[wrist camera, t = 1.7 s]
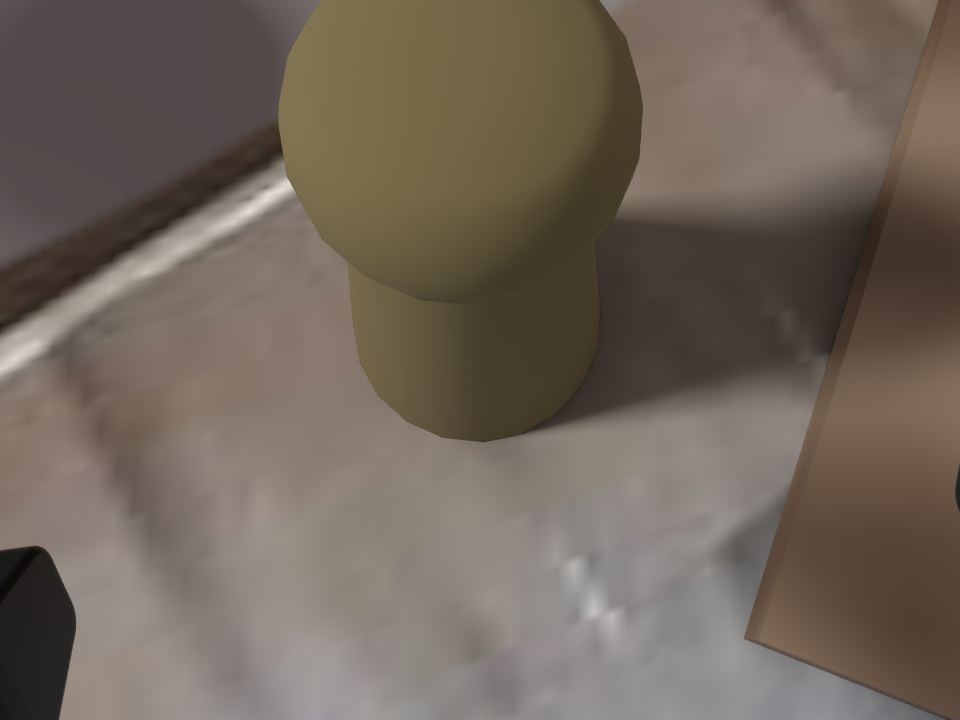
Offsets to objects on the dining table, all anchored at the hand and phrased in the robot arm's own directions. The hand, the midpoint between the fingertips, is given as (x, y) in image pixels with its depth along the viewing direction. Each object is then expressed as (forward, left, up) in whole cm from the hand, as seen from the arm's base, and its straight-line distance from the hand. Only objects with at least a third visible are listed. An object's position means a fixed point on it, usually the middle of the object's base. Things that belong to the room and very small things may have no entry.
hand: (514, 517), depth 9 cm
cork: (+6, -1, -12) cm, 14 cm away
